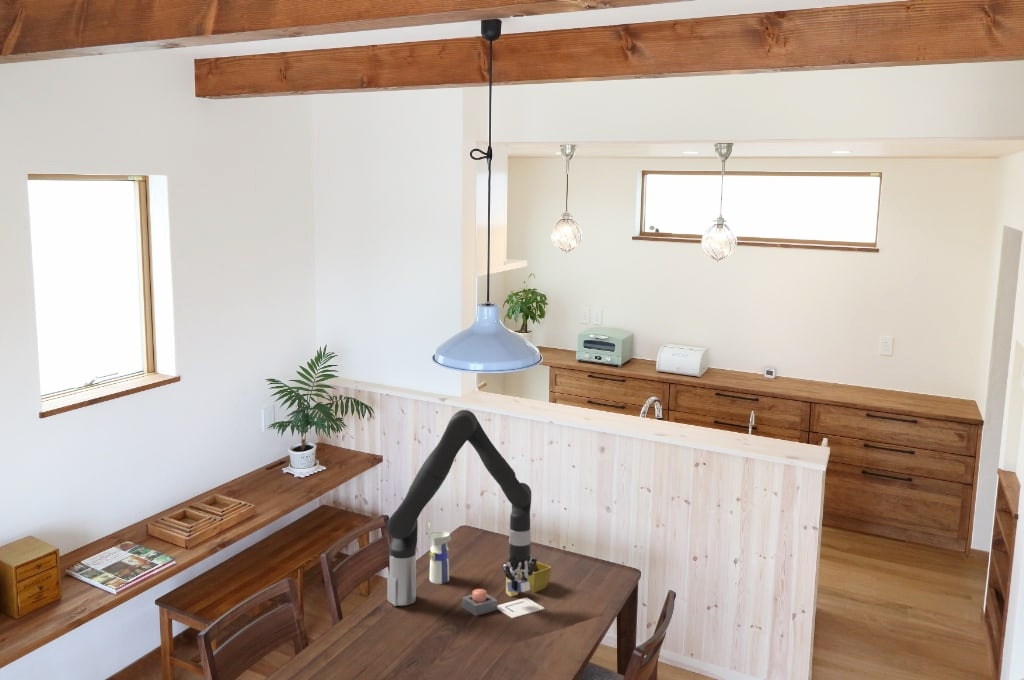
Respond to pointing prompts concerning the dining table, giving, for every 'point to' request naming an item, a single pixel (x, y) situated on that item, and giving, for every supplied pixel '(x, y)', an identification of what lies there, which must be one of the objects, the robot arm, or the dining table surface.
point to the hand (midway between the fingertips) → (519, 588)
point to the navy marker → (519, 586)
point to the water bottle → (439, 556)
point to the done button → (479, 595)
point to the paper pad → (519, 607)
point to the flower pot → (538, 577)
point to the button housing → (479, 605)
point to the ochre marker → (507, 588)
